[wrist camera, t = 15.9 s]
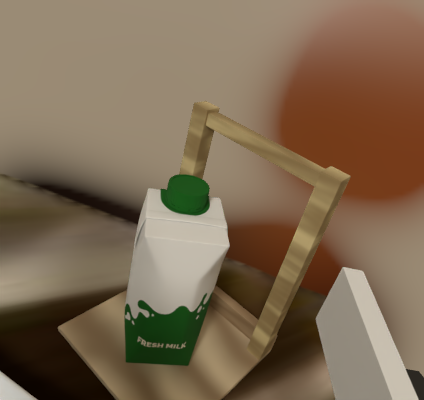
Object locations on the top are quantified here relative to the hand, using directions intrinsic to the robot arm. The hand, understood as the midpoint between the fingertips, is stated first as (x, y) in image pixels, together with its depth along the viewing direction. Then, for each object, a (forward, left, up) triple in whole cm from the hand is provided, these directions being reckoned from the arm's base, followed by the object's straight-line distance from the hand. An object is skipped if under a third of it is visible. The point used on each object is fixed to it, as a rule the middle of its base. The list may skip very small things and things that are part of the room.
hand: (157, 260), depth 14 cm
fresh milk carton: (-12, +16, -30) cm, 36 cm away
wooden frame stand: (-11, +17, -30) cm, 36 cm away
